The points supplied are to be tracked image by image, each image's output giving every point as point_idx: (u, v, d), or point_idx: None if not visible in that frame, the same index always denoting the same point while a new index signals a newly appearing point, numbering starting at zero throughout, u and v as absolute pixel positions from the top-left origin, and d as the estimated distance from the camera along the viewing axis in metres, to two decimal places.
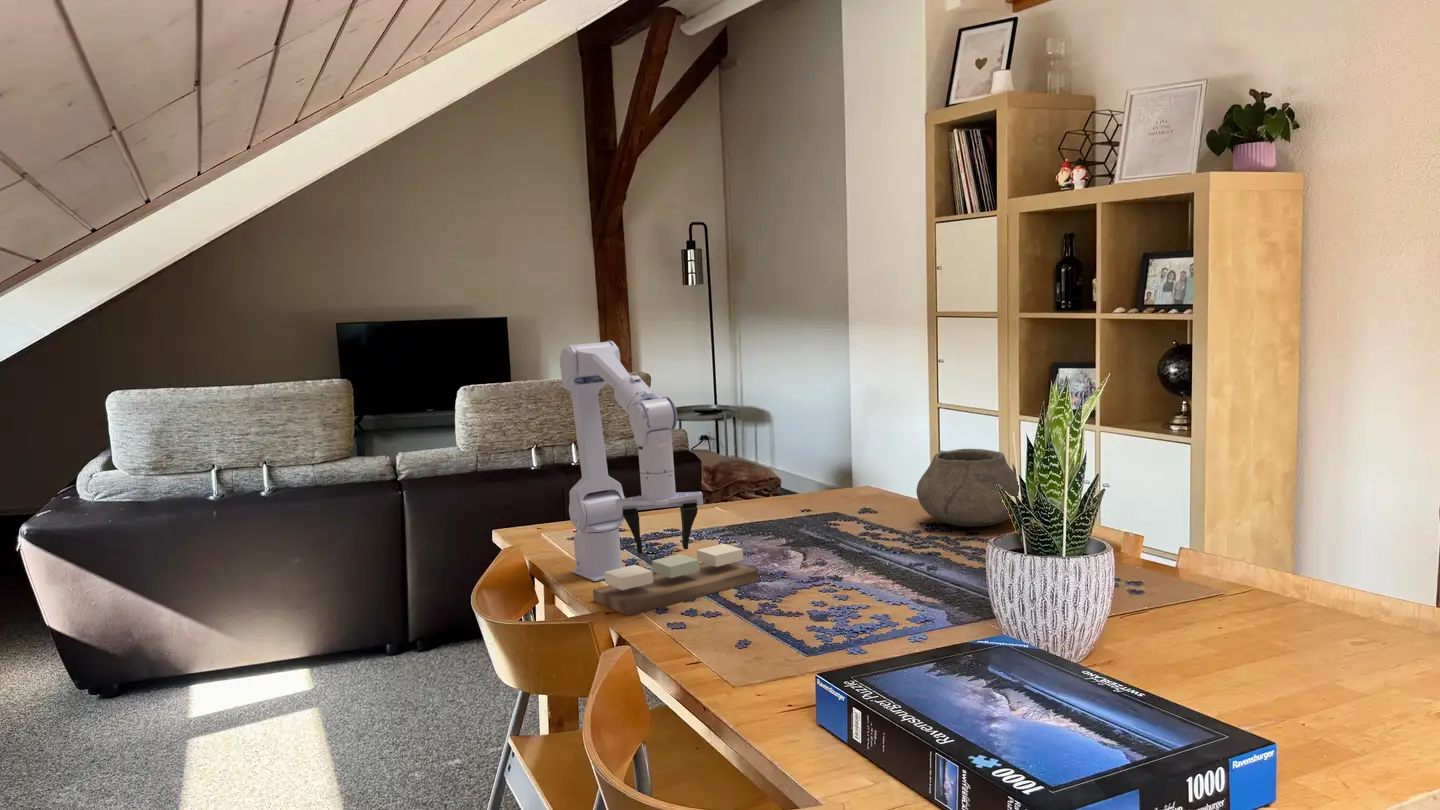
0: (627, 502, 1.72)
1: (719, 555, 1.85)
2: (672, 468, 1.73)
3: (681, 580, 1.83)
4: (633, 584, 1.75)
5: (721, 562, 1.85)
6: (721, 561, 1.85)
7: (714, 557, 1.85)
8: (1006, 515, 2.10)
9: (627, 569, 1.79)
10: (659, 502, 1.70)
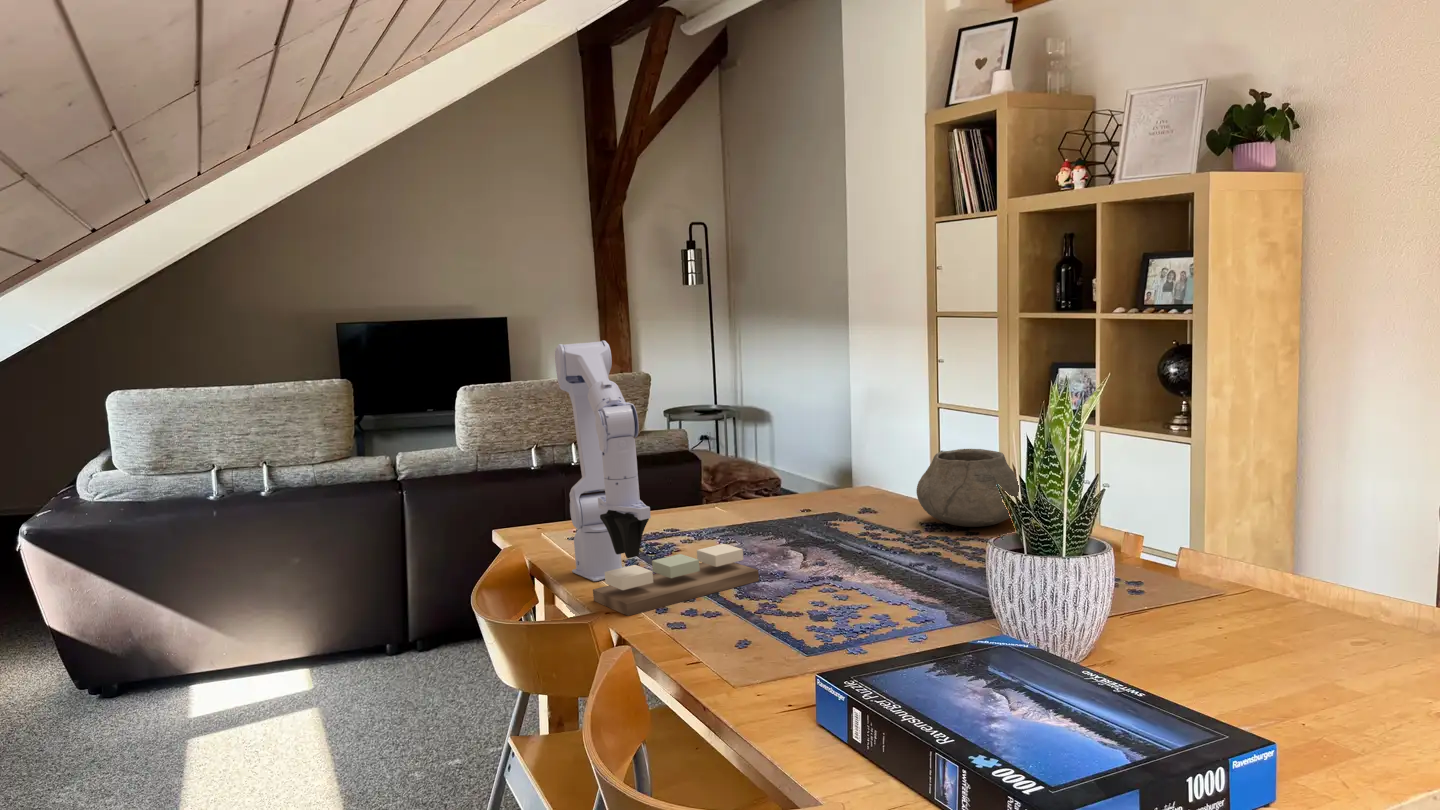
0: (601, 500, 1.80)
1: (719, 555, 1.85)
2: (634, 475, 1.75)
3: (681, 580, 1.83)
4: (633, 584, 1.75)
5: (721, 562, 1.85)
6: (721, 561, 1.85)
7: (714, 557, 1.85)
8: (1006, 515, 2.10)
9: (627, 569, 1.79)
10: (601, 506, 1.75)
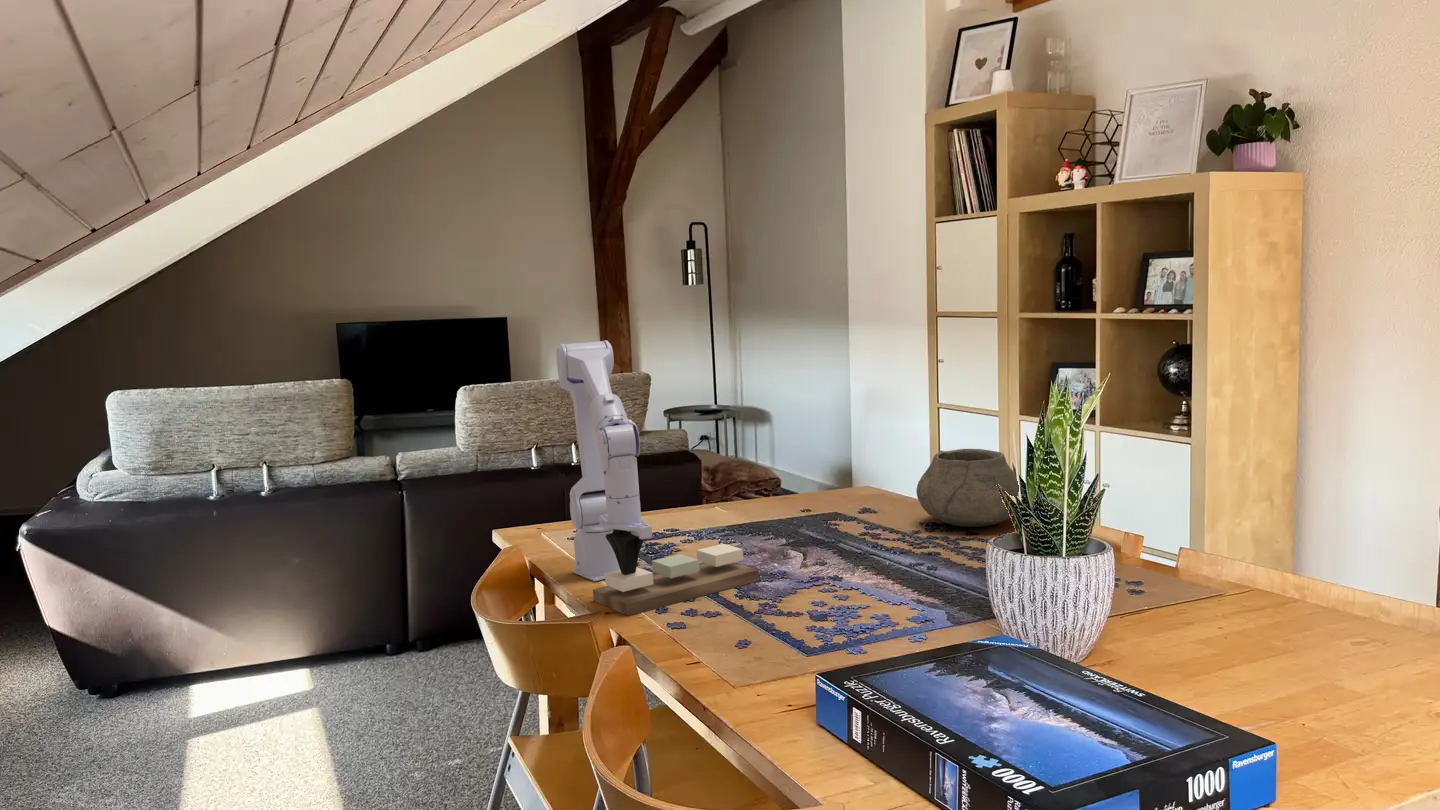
0: (602, 518, 1.81)
1: (719, 555, 1.85)
2: (635, 493, 1.75)
3: (681, 580, 1.83)
4: (633, 585, 1.75)
5: (721, 562, 1.85)
6: (721, 561, 1.85)
7: (714, 557, 1.85)
8: (1006, 515, 2.10)
9: None
10: (602, 525, 1.75)
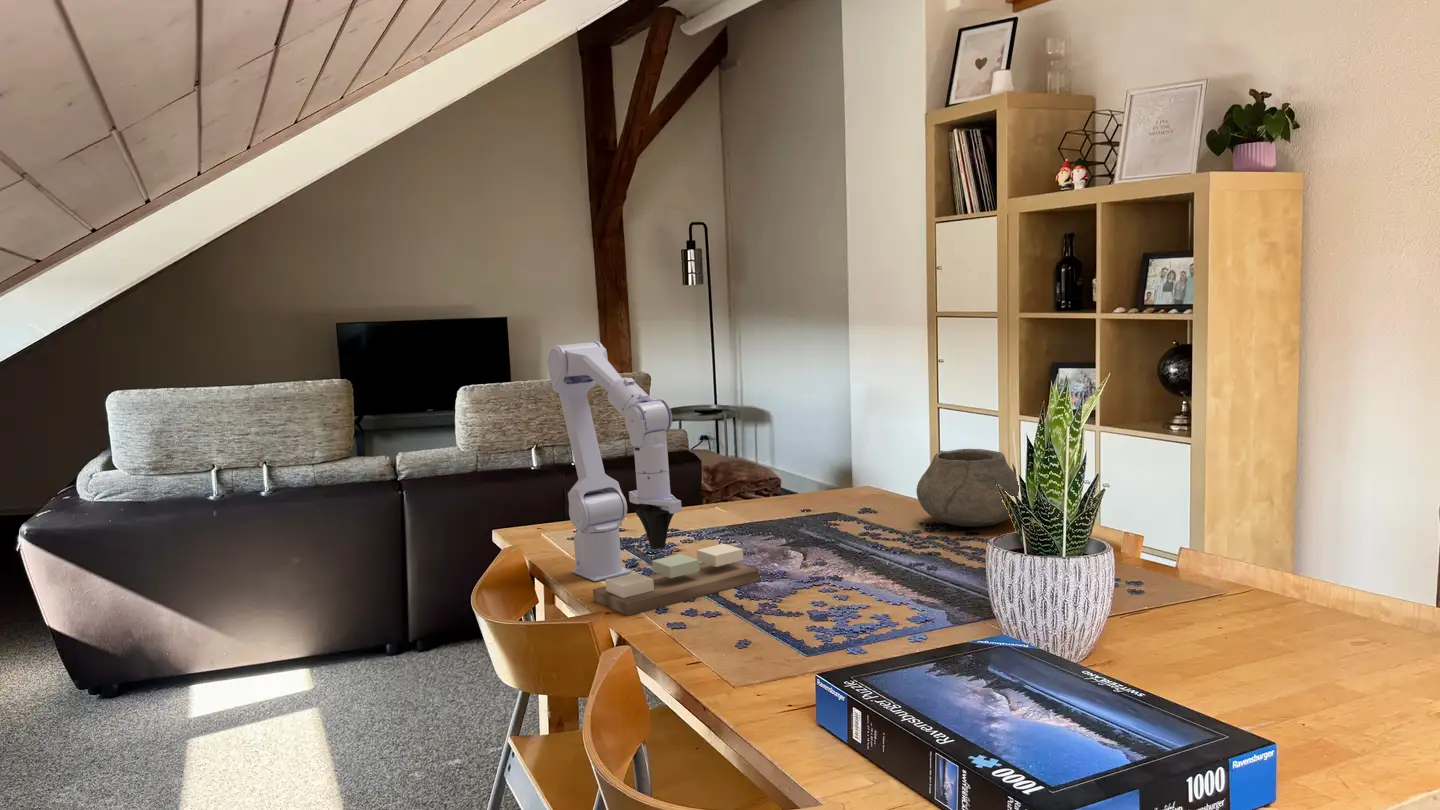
0: (632, 494, 1.84)
1: (719, 555, 1.85)
2: (667, 468, 1.79)
3: (681, 580, 1.83)
4: (634, 592, 1.75)
5: (721, 562, 1.85)
6: (721, 561, 1.85)
7: (714, 557, 1.85)
8: (1006, 515, 2.10)
9: (628, 577, 1.79)
10: (633, 500, 1.78)
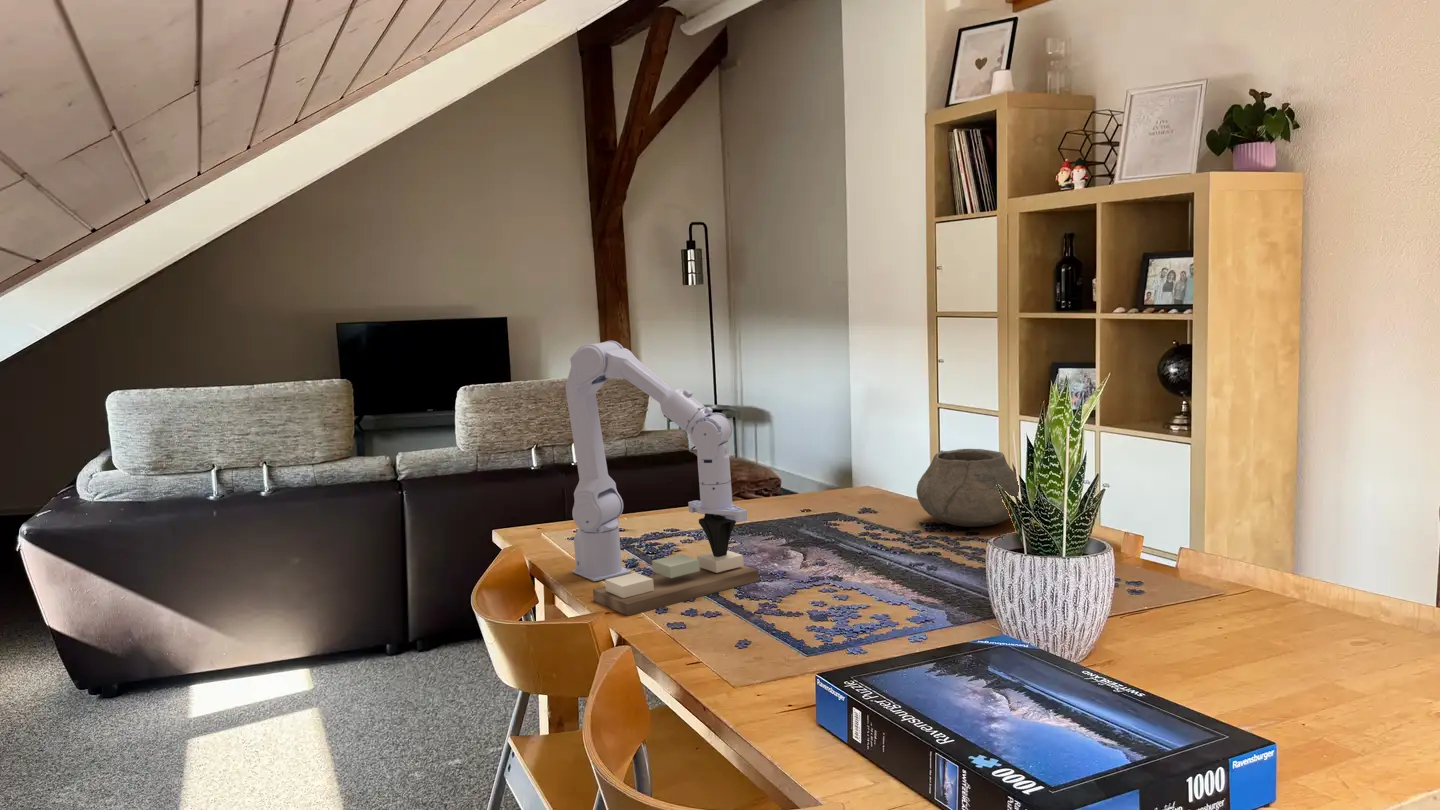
0: (693, 504, 1.91)
1: (719, 561, 1.85)
2: None
3: (681, 580, 1.83)
4: (634, 592, 1.75)
5: (722, 568, 1.85)
6: (721, 567, 1.85)
7: (714, 563, 1.85)
8: (1006, 515, 2.10)
9: (628, 577, 1.79)
10: (698, 510, 1.85)
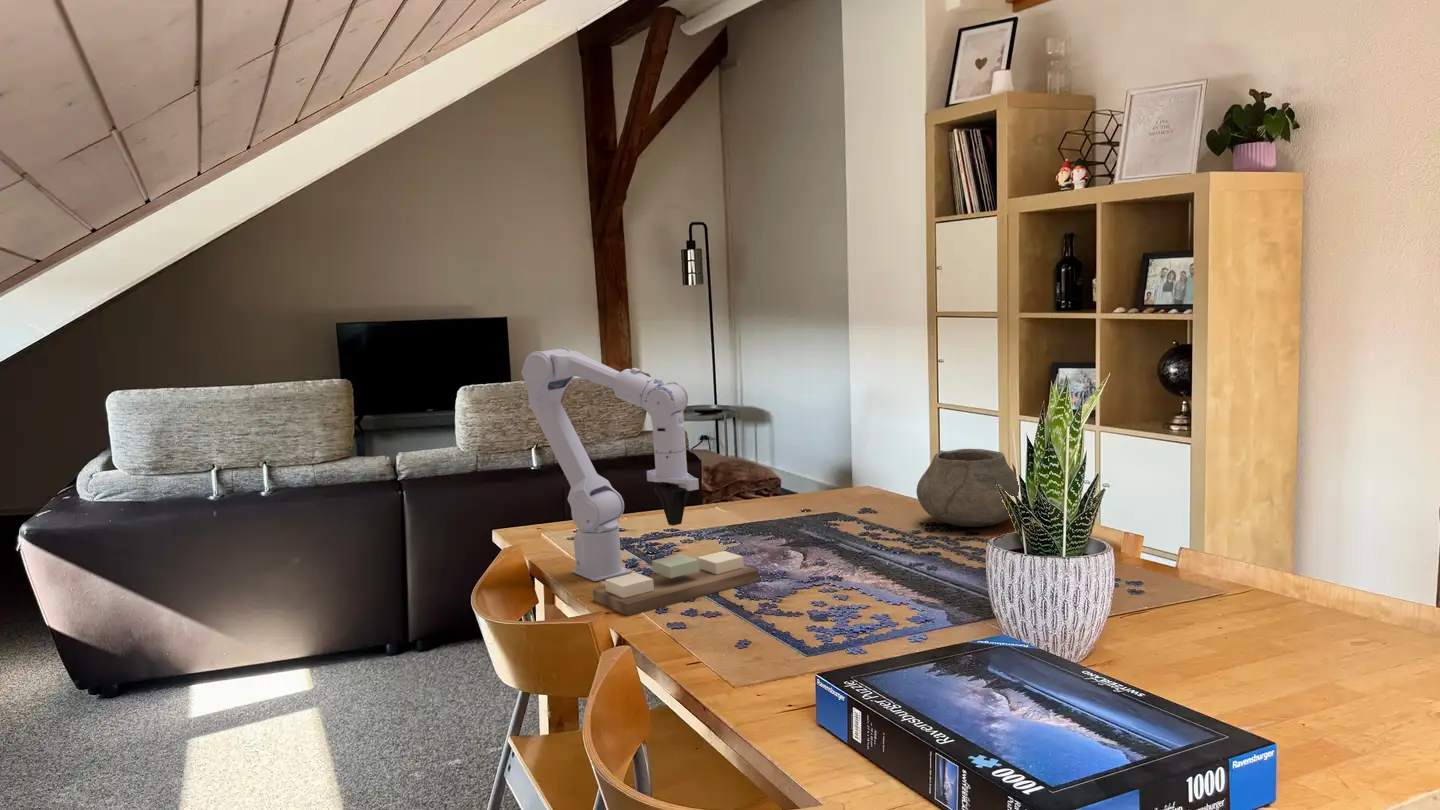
0: (650, 473, 1.93)
1: (720, 563, 1.85)
2: None
3: (681, 580, 1.83)
4: (634, 592, 1.75)
5: (722, 569, 1.86)
6: (721, 569, 1.85)
7: (715, 565, 1.85)
8: (1006, 515, 2.10)
9: (628, 577, 1.79)
10: (651, 478, 1.87)
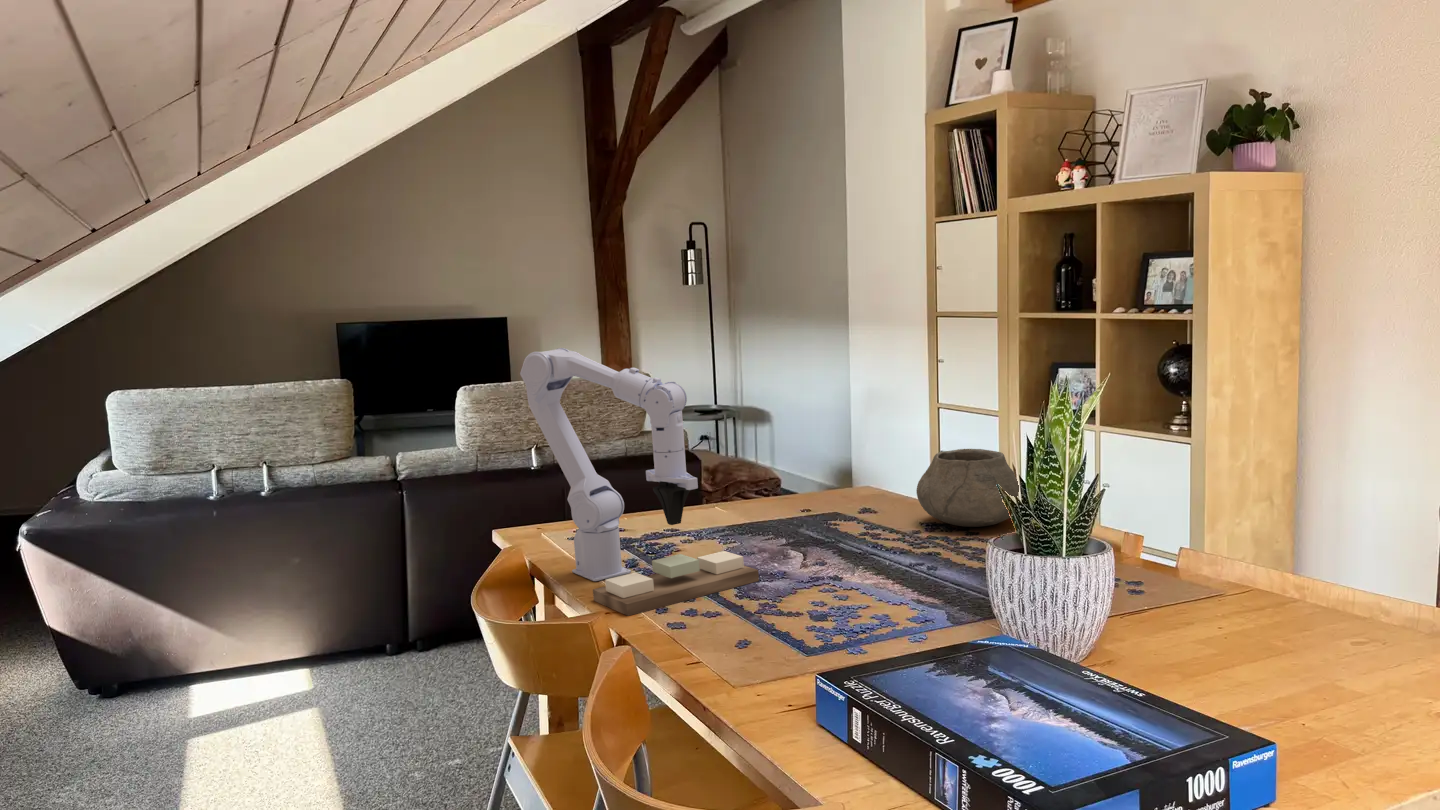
0: (649, 473, 1.93)
1: (720, 563, 1.85)
2: None
3: (681, 580, 1.83)
4: (634, 592, 1.75)
5: (722, 569, 1.86)
6: (721, 569, 1.85)
7: (715, 565, 1.85)
8: (1006, 515, 2.10)
9: (628, 577, 1.79)
10: (651, 478, 1.87)
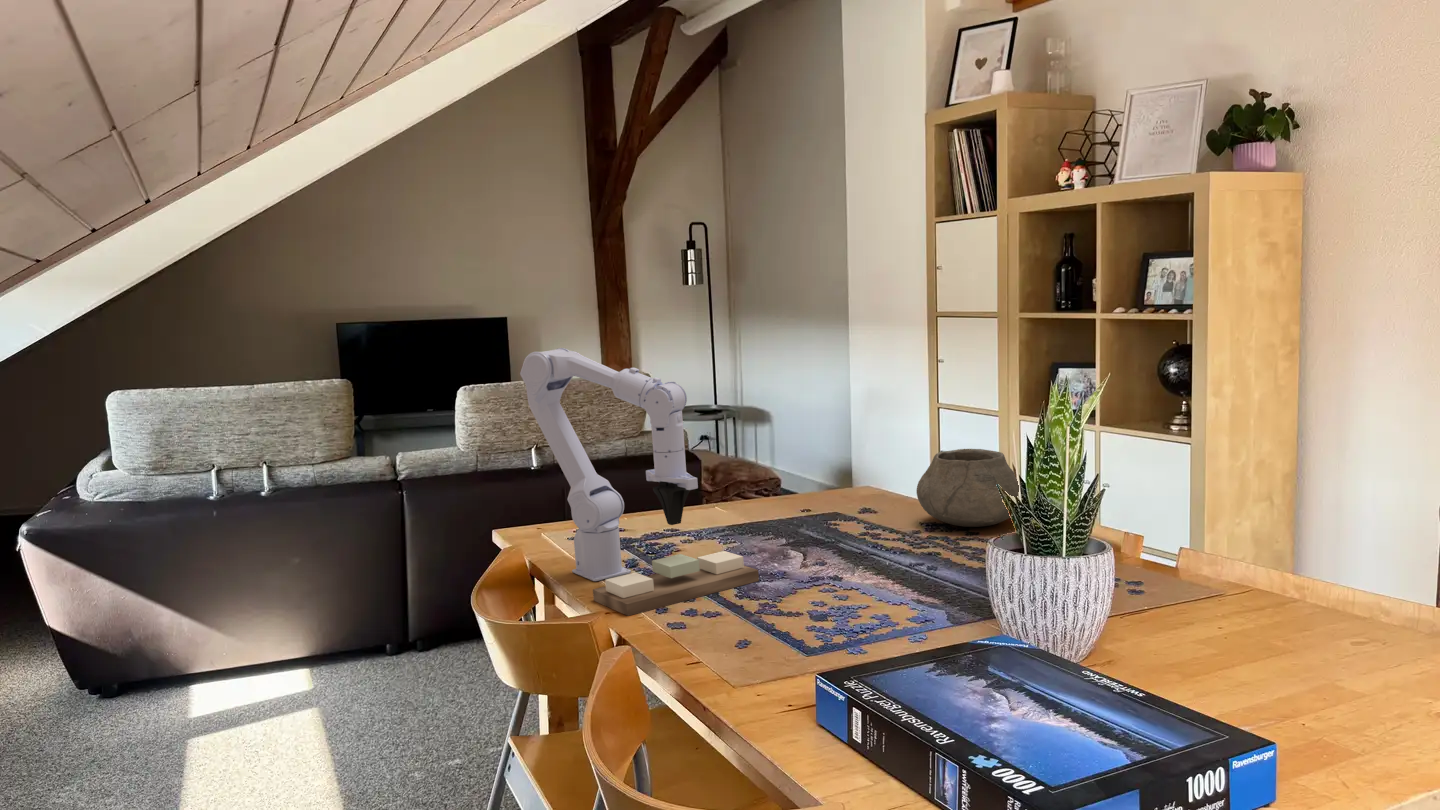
0: (649, 473, 1.93)
1: (720, 563, 1.85)
2: None
3: (681, 580, 1.83)
4: (634, 592, 1.75)
5: (722, 569, 1.86)
6: (721, 569, 1.85)
7: (715, 565, 1.85)
8: (1006, 515, 2.10)
9: (628, 577, 1.79)
10: (651, 478, 1.87)
